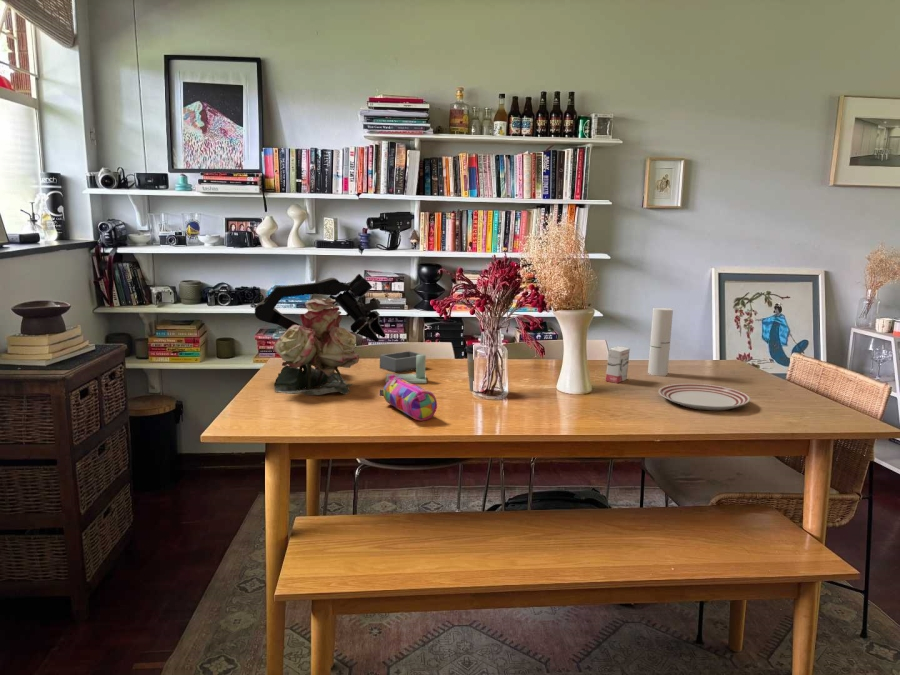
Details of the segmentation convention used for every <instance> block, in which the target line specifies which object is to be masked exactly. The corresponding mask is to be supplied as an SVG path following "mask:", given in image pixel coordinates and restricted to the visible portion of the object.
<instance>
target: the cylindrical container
mask: <svg viewBox="0 0 900 675" xmlns="http://www.w3.org/2000/svg"><path fill="white" fill-rule="evenodd" d="M673 312H674V309H673V308H669V307H653V308H652V318H651V327H650V328H651V329H650V331H651V332H650V340H649V341H650V342H649V344H650V345H649V353H648V354H649V356H648V366H647V367H648V368H647V374H648V373H649V374H648V375H650V374H651V375H650V376H654V375H656V376H655V377H666V375H667V376H668V370H669V360H670V349H671V348H670V347H671V337H672V328H673V327H672V325H673Z"/></svg>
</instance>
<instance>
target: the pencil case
mask: <svg viewBox="0 0 900 675" xmlns="http://www.w3.org/2000/svg"><path fill="white" fill-rule="evenodd" d="M388 377H389V379H390V381H389V382H388V383H385V385H384V387H383V389H380V390H379V396H380V397H383V399H384V401H386V403H387V404H389V405H391V406H392V407H394V408H396V409H397V410H399V411H400V412H402V413H403V414H405V415H407V416H409V417H411V418H413V420H416V421H419V422H420V421H422V422H423V421H427V420H429V419H431V418H432V417H433V416H434V415H435V414H436V411H437V409H438V402H437V398H436V396H435V394H434V393H432V392H431V391H429V390H426V389H424V388H423V387H420V386H419V385H418V384H416V383H408V382H407V381H406V380H405V379H403V378H400V377H395V375H391V376H388Z"/></svg>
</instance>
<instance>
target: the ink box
mask: <svg viewBox="0 0 900 675" xmlns="http://www.w3.org/2000/svg"><path fill="white" fill-rule="evenodd" d="M630 351H631V348H630V347H626V346H619V345H617V346H615V347H611V348H609V349H608V353H607V364H606V374H605V382H609V383H614V384H619V383H621V382H623V381H626V380H627V379H628V373H629V372H628V371H629V359H630Z"/></svg>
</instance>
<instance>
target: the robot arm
mask: <svg viewBox="0 0 900 675" xmlns="http://www.w3.org/2000/svg"><path fill="white" fill-rule="evenodd" d="M372 288H373V286H372V284H371V283H370V282H369V280H366V278H364V277H363V276H362V274H360V273H358V274H357V275H356V276H355V277H354V278H353V279H351V281H350V282H349V283H347V282H342V281H339V280H338V279H337V278H335V277H328V278H326V279H320V280H318V281H316V282H310V283H309V282H308V283H301V284H292V285H291V284H290V285H289V284H288V285H276V286H275V287H274V288H273V289H272V291H271V292H270V293H269V294H268V295H267V296H266V297H265V299H264V300H263V301H261V302H258V303H257V304H256V305H255V307H254V316H255V317H256V318H257V319H258V320H259V321H262V322H265V323H268V324H273V325H277V326H280V327H282V328H283V329H285V330H286V331H287V330H288V328H290V327H291V326H293V325H299V326H303V324H302V323H300V322H298V321H296V320H294V319H293V318H290V317H289V316H286V315H284V314H282V312H280V311H279V310H278V309H276V306H277V305H278V304H279V302H280V301H281V300H282V299H283V298H289V297H291V298H292V297H298V296H307V295H310V296H311V295H322V296H333V297H330V299H333V300H334V299H335V300H336V301H335V302H334V303H332V304H333V305H335V306H337V304H338V306H340V309H342V310H343V311H344V312H345V313H346V314H345V316H346V317H348V318H351V320H352V321H353V323H351V325H350V331H351V333H352V334H355V333H356V334H355V335H359V336H362V337H365V338H366V339H369V340H371V341H373V342H376V343H377V342H379V341H380V338H379V337H382V338H385V337H386V333H385V331H384V329H383V327H382V326H381V323H380V318H381V317H380V316H381V315H380V313H379V312H378V311H377V310H378V309H380V308H382V306H381V301H380V300H379V299H376V297H373V298H370V299H369V302H368V303H366V304H364V303H363V302H359V301H358V300H357V299H356V298H363V297H364V296H365V295H366V294H367V293H368V292H369V291H370V290H372ZM343 292H344V293H343ZM351 293H352V294H353V295H352V294H351ZM334 296H336V297H334ZM377 335H378V336H379V337H378V336H377ZM335 373H336V374H338V373H337V372H336V371H335Z"/></svg>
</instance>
